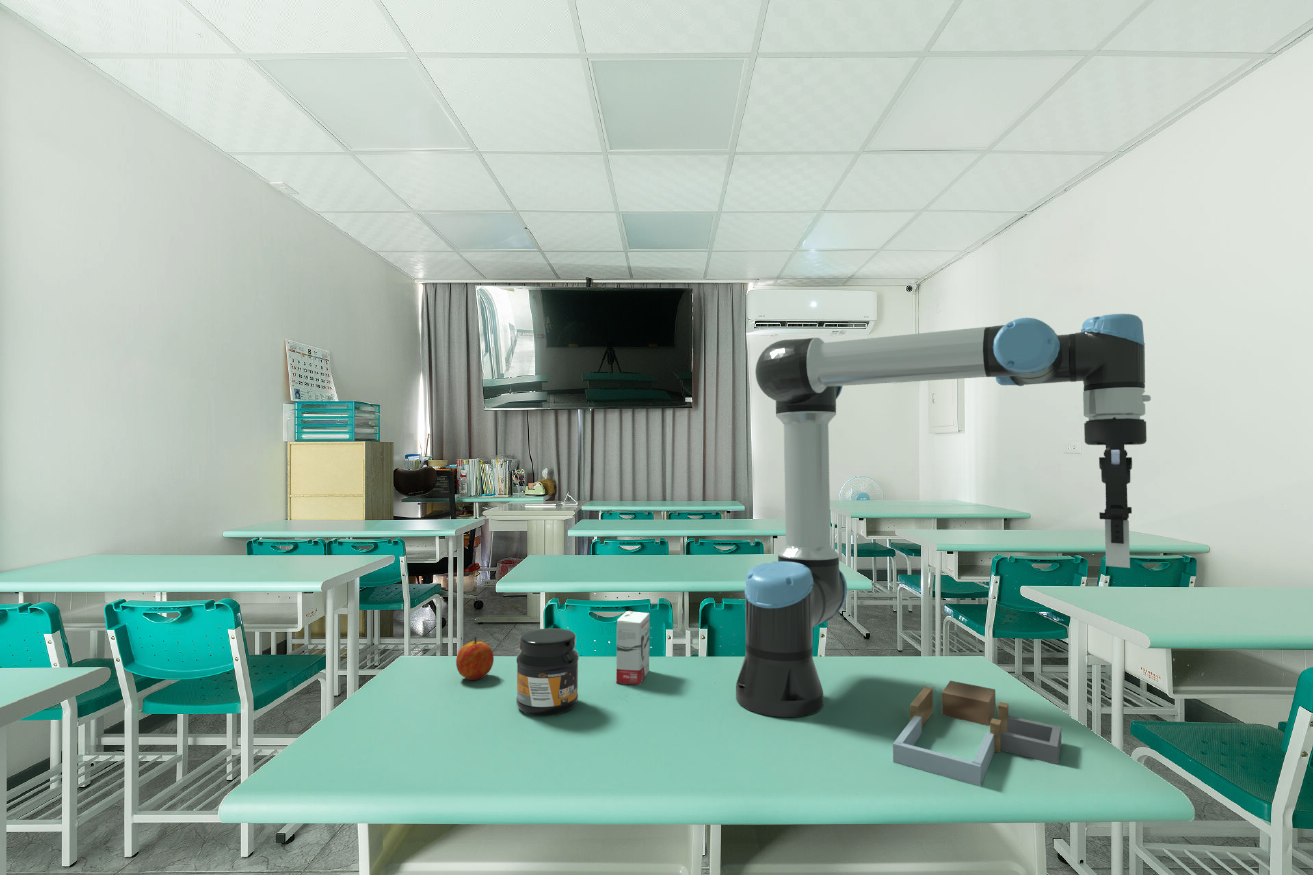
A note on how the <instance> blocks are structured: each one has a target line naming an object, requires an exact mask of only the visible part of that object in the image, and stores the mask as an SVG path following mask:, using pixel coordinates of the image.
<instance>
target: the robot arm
mask: <svg viewBox="0 0 1313 875" xmlns="http://www.w3.org/2000/svg"><path fill="white" fill-rule="evenodd" d="M1081 326H1082V328H1081V329H1080V332H1075V333H1069V334H1059V335H1058V334H1057V333H1056V332H1055V330H1054V329H1053V328H1052V327H1051V326H1050V325H1048V324H1047V323H1045V322H1044V321H1042V320H1041V319H1037V318H1035V317H1021V318H1016V319H1013V320H1012V321H1009V322H1008V323H1006V324H1001V325H994V326H982V327H972V328H963V329H962V328H961V329H953V330H950V329H949V330H942V331H939V330H938V331H929V332H921V333H920V332H919V333H909V334H900V335H889V336H881V337H880V336H879V337H869V338H868V337H867V338H862V339H861V338H859V339H850V340H841V341H838V340H837V341H829V342H828V341H827V342H825V341H824V340H823V339H821V338H820V337H809V338H795V339H794V338H793V339H782V340H777V341H776V342H773V343H771V344H770V345H769V346H767V347H766V348H765V349H764V350H763V351H762V352H761V353H760V355H759V357H758V360H757V362H756V365H755V378H756V383H757V385H758V387H759V389H760V390H761V391H762V393H764V394H765V395H766V396H767V397H768V398H770V399H772V400H773V401H775V415H776V416H775V417H776V418H777V419H779V421H780V422H782V424H783V451H784V452H783V453H784V454H783V455H784V456H783V457H784V458H783V459H784V460H783V461H784V510H785V511H784V517H785V521H784V522H785V545H784V546H783V548H781V549H780V551H779V552H778V553H777V561H771V562H764V563H760V564H757V565H755V566H753V567H751V568H750V569H749V570H748V572H747V573H746V577H745V578H746V579H745V586H744V598H745V606H744V607H745V655H744V659H743V662H742V665H741V667H740V671H739V673H738V674H739V675H738V677H737V680H736V683H735V700H736V702H737V703H738V704H739V706H741V707H744V709H747V710H749V711H751V712H754V713H756V714H760V715H765V716H770V717H771V716H772V717H779V718H780V717H781V718H797V717H805V716H809V715H812V714H816V713H817V712H819V711H821V710H822V708H824V691H823V690H824V689H823V687H822V683H821V680H820V676H819V674H818V671H817V668H816V664H815V662H814V656H813V655H814V652H813V649H814V648H813V643H814V642H813V640H814V639H813V637H814V636H813V635H814V634H813V633H814V630H813V629H814V628H815V627H817V626H819V625H820V624H822V623H823V624H824V623H825V622H828V621H829V620H831V619H832V618H833V617H835V616H836V615H837V614H838V613H839V612H840V611H841V609H842V607H844V605H845V602H846V601H847V597H848V585H847V584H848V583H847V579H846V576H845V575H844V573H843V571H841V570H840V556H839V553H838V552H837V551H836V550H835V549H834V548H833V547H832V545H831V505H830V504H831V499H830V498H831V495H830V491H831V490H830V450H829V449H830V444H829V442H830V441H829V423H830V422H831V421H832V419H833V418H835V416H836V415H837V400H838V398H839V396H840V395H841V393H842V390H843V387H845V386H856V385H858V386H859V385H877V384H878V385H879V384H891V383H894V384H895V383H909V382H925V381H943V380H956V379H957V380H958V379H959V380H960V379H975V378H995V381H996V383H997V384H999V385H1001V386H1018V387H1023V386H1025V385H1027V386H1028V385H1041V384H1043V385H1044V384H1055V383H1069V382H1070V383H1077V382H1083V391H1082V394H1083V395H1082V401H1083V406H1082V407H1083V417H1085V418H1088V420H1086V421H1085V422H1084V423H1083V428H1084V431H1083V432H1084V433H1083V434H1084V443H1085V444H1086V445H1088V446H1105V450H1104V451H1103V457H1102V456H1099V458H1098V462H1099V464H1098V465H1099V466H1098V467H1099V469H1100V477H1101V478H1100V479H1101V483H1103V484H1105V509H1104V512H1099V520H1104V532H1105V533H1104V537H1105V539H1104V540H1105V542H1104V543H1105V566H1106V567H1113V568H1114V567H1115V568H1116V567H1117V568H1125V569H1126V568H1128V569H1131V564H1130V563H1131V562H1130V561H1131V557H1130V556H1131V554H1130V520H1129V518H1130V514H1132V512H1133V511H1132V510H1133V509H1132V506H1129V504H1128V503H1129V502H1128V484H1130V483H1131V470H1132V468H1133V458H1132V457H1131V456H1129V457H1128V452H1127V450H1126V449H1125V446H1131V445H1132V446H1133V445H1135V446H1136V445H1139V446H1140V445H1144V444H1146V443H1147V440H1148V439H1147V438H1148V437H1147V421H1146V420H1145V419H1143V418H1141V417H1142V416H1144V415H1146V404H1145V402H1150V401H1151V400H1152V399H1151V395H1149V394H1145V392H1146V390H1145V388H1146V368H1145V367H1146V365H1145V364H1146V363H1145V361H1146V358H1145V357H1146V356H1145V355H1146V353H1145V351H1146V350H1145V349H1146V348H1145V345H1146V343H1145V337H1144V336H1145V334H1144V324H1143V321H1142V319H1141V318H1140V317H1139V316H1138V315H1135V314H1132V313H1112V314H1111V313H1110V314H1105V315H1104V314H1103V315H1100V316H1092V317H1090V318H1087V319H1086V320H1084V321H1083V323H1082V325H1081Z"/></svg>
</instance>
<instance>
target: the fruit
mask: <svg viewBox="0 0 1313 875" xmlns="http://www.w3.org/2000/svg"><path fill="white" fill-rule="evenodd" d="M494 658H495V657H494V652H493V649H492V648H491V646H490V645H489V644H488V643H486V642H484V641H481V640H480V641H477V637H476V636H475V637H474V640H472V641H470V642H467V643H465V645H462V647H460V648H459V650H458V652H457V654H456V658H455V663H456V664H455V665H456V669H457V671H458V674H460V676H462V677H463V678H465V679H467V680H469V681H477V680H480V679H482V678H484V677H486V675H488V674H489V672H490V671H491V669H492V667H493V666H494Z"/></svg>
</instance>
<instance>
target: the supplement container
mask: <svg viewBox="0 0 1313 875" xmlns="http://www.w3.org/2000/svg"><path fill="white" fill-rule="evenodd" d="M576 644H577V635H576V633H575V632H574V631H572V630H569V629H564V628H538V629H533V630H530V631H526V632H524V633H523V634H521V635H520V637H519V649H520V651H519V652H518V654H517V656H516V664H517V665H516V666H517V667H516V668H517V669H516V672H517V674H516V675H517V676H516V698H515V699H516V702H515V703H516V706H517V707H518V709H519V710H520V711H521V712H523V713H525V714H526V715H530V716H536V717H550V716H557V715H561V714H563V713H567V712H568V711H570V710H571V709H573V708H574V707H575V706H576V705H577V703H578V700H579V693H578V690H579V689H578V688H579V686H578V682H579V679H578V678H579V677H578V676H579V671H578V670H579V668H578V667H579V666H578V665H579V659H580V658H579V657H580V656H579V652H578V650H577V649H575V647H576V646H577V645H576Z"/></svg>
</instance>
